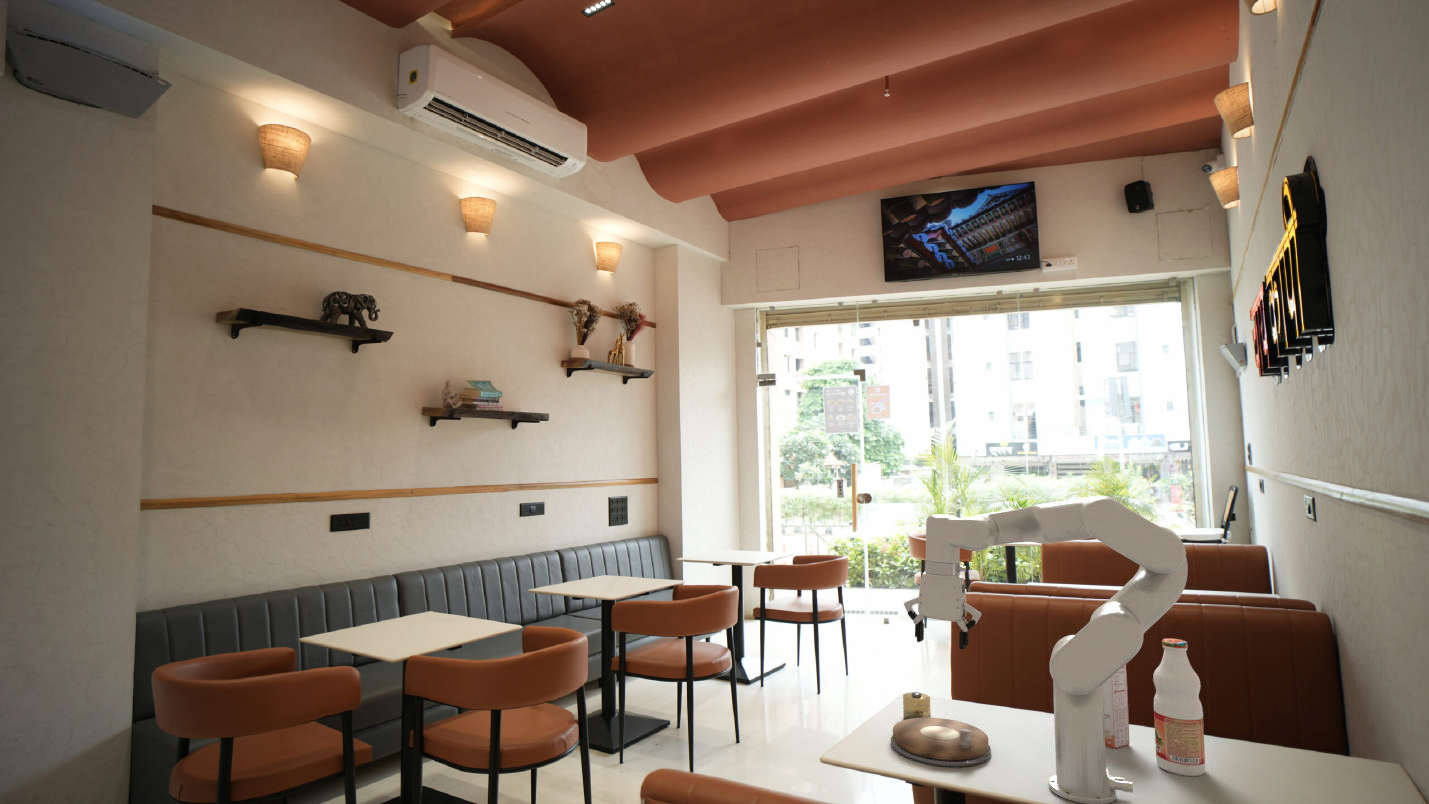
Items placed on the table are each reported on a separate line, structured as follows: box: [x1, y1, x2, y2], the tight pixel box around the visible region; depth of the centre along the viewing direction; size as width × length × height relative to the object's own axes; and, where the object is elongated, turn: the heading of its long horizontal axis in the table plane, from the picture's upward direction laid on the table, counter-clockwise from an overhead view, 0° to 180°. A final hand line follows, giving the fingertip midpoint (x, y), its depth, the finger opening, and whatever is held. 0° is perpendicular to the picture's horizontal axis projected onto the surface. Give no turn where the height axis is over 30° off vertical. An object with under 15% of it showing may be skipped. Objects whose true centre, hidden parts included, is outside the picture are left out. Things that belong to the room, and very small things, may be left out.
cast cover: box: [902, 691, 932, 720], centre depth 199 cm, size 7×7×7 cm
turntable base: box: [890, 734, 992, 769], centre depth 179 cm, size 23×23×1 cm
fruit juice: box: [1152, 638, 1206, 777], centre depth 168 cm, size 9×9×28 cm
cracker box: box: [1103, 664, 1130, 749], centre depth 186 cm, size 14×6×21 cm, turn 25°
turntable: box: [892, 717, 989, 760], centre depth 179 cm, size 22×22×6 cm
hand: (941, 644), depth 170 cm, fingers open, 9 cm apart
